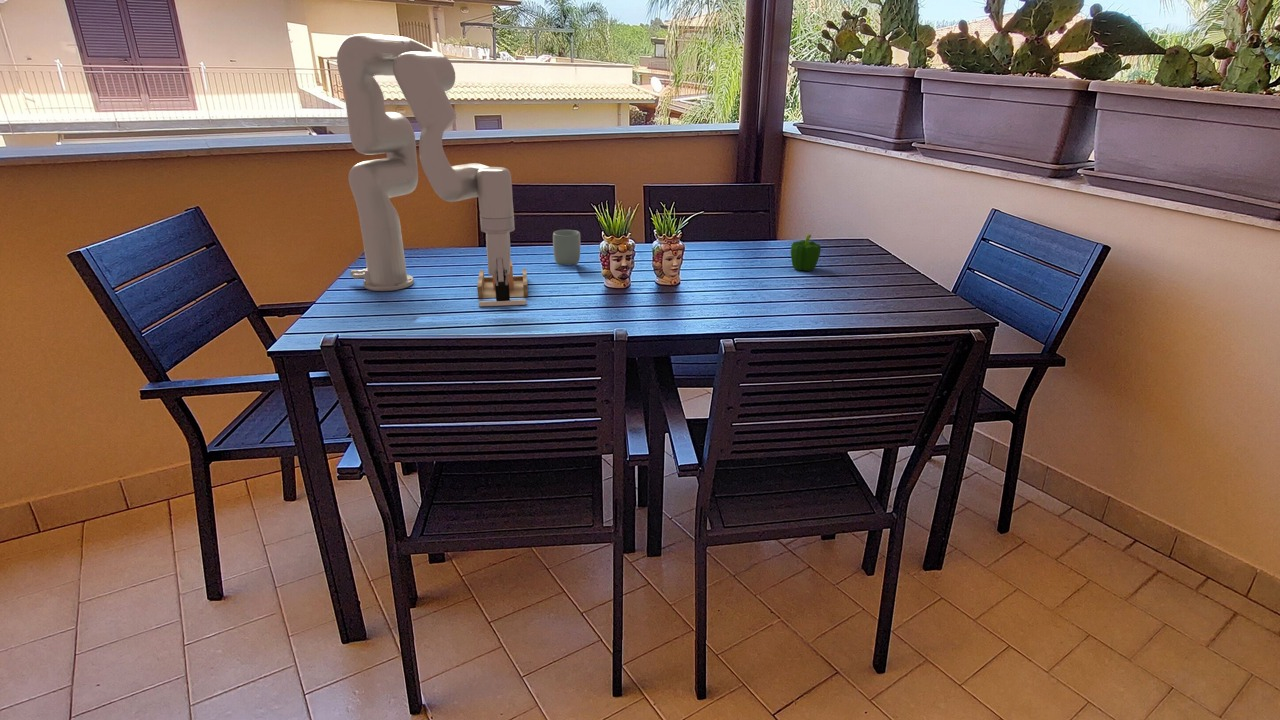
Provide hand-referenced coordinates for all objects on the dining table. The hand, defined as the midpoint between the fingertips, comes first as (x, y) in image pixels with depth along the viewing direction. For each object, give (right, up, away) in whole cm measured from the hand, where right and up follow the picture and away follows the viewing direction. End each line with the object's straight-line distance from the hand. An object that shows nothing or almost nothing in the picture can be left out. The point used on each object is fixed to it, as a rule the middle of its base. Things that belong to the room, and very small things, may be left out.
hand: (503, 300), depth 157 cm
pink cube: (-2, +5, +12) cm, 13 cm away
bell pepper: (+81, +12, +37) cm, 90 cm away
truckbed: (-2, +2, +11) cm, 11 cm away
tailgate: (-1, 0, +4) cm, 4 cm away
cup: (+11, +13, +36) cm, 40 cm away
